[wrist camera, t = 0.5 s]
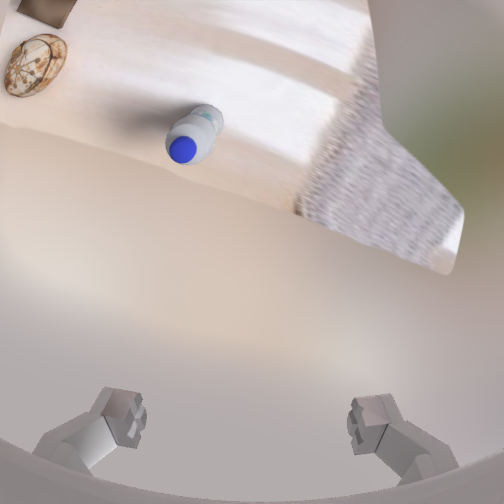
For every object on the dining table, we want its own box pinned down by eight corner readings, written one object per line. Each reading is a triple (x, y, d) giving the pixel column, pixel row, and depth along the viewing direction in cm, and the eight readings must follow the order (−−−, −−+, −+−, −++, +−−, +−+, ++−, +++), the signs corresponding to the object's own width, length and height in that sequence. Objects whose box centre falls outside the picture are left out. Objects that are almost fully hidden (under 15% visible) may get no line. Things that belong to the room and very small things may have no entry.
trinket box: (79, 43, 42) (56, 45, 35) (50, 106, 49) (27, 116, 42) (38, 23, 37) (15, 24, 31) (13, 83, 44) (-10, 90, 38)
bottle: (221, 140, 54) (201, 183, 38) (186, 132, 53) (150, 171, 37) (230, 106, 50) (213, 133, 34) (194, 98, 50) (159, 121, 33)
